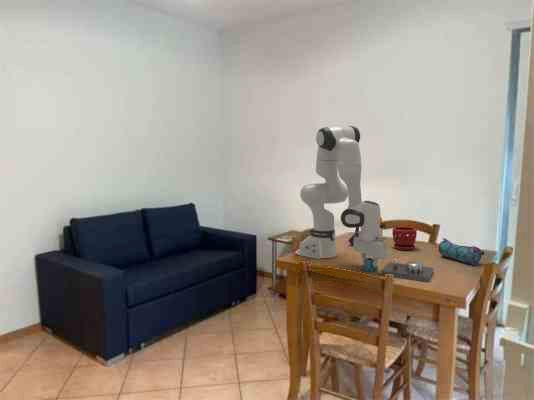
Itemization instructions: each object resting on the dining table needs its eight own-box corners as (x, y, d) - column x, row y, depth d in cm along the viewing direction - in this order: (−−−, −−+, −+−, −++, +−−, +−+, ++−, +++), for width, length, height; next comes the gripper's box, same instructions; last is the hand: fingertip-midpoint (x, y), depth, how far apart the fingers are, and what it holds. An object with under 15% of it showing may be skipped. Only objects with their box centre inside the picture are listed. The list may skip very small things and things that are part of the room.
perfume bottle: (353, 243, 241) (353, 214, 238) (364, 245, 236) (365, 215, 234) (348, 245, 235) (348, 215, 232) (360, 247, 230) (360, 217, 228)
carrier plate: (381, 274, 179) (381, 262, 178) (389, 266, 193) (389, 254, 192) (428, 282, 169) (428, 268, 168) (433, 272, 183) (433, 259, 182)
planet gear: (358, 270, 186) (359, 259, 186) (363, 266, 193) (363, 256, 192) (375, 272, 182) (375, 262, 182) (379, 268, 189) (380, 258, 188)
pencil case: (483, 264, 195) (485, 245, 194) (472, 267, 191) (473, 247, 190) (447, 254, 213) (448, 237, 212) (436, 257, 209) (437, 239, 208)
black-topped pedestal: (363, 233, 270) (364, 214, 269) (401, 239, 254) (402, 218, 252) (343, 241, 249) (344, 220, 247) (383, 247, 232) (384, 225, 231)
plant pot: (420, 249, 226) (421, 228, 224) (406, 252, 219) (407, 231, 217) (401, 244, 237) (402, 225, 235) (387, 247, 229) (387, 227, 228)
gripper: (391, 239, 178) (390, 268, 180) (361, 231, 196) (360, 258, 198) (380, 240, 175) (379, 270, 177) (351, 232, 193) (350, 259, 195)
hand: (369, 264), depth 187 cm, fingers closed on planet gear, 5 cm apart
